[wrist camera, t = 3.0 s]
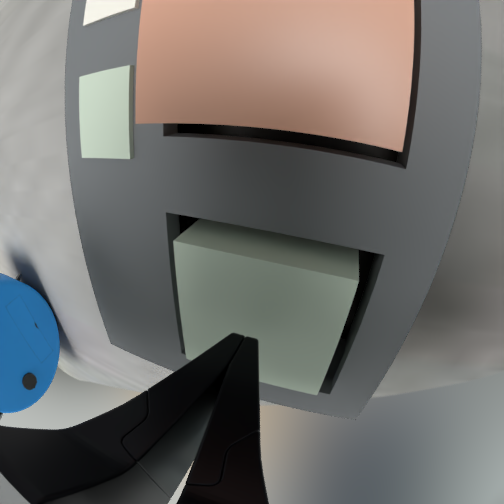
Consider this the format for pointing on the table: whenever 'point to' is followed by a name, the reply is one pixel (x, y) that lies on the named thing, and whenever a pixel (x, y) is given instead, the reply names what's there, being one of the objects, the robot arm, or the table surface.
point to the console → (266, 193)
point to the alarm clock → (25, 345)
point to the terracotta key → (279, 66)
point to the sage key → (265, 297)
